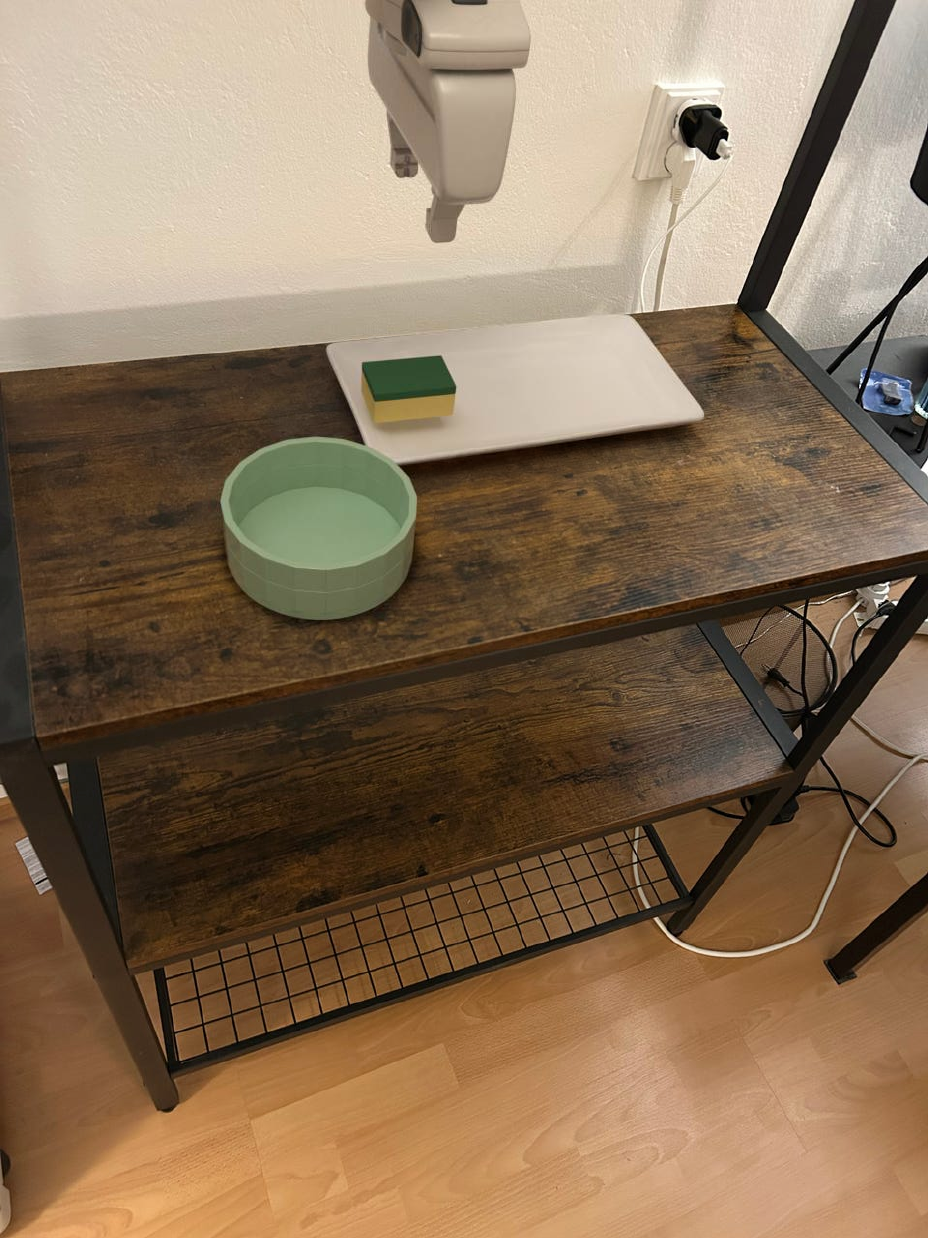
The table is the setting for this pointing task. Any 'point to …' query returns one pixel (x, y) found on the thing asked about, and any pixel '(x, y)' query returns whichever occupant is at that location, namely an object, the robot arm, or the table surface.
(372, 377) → the sponge
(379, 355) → the tray
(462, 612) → the table surface
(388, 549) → the bowl
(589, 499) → the table surface
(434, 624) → the table surface
